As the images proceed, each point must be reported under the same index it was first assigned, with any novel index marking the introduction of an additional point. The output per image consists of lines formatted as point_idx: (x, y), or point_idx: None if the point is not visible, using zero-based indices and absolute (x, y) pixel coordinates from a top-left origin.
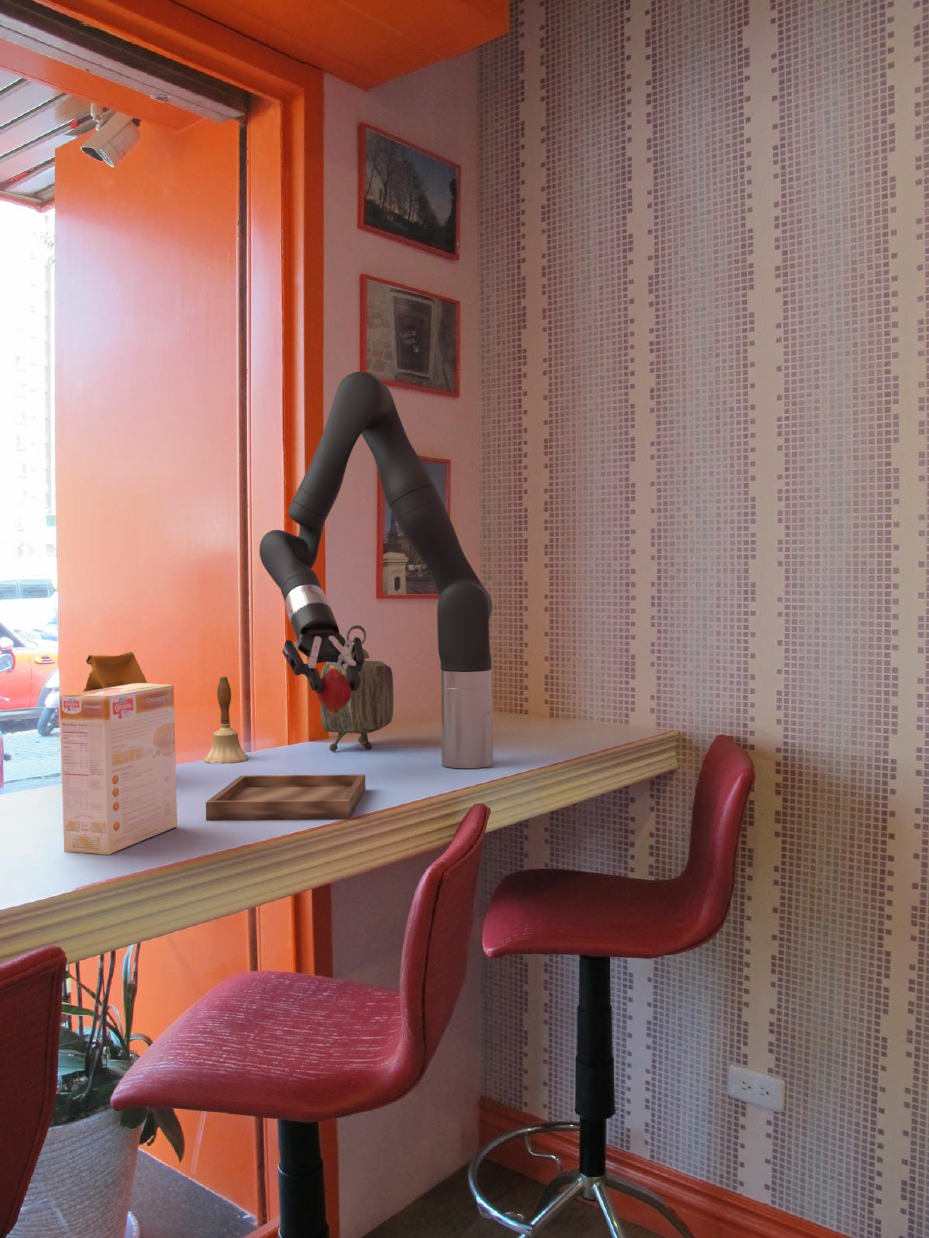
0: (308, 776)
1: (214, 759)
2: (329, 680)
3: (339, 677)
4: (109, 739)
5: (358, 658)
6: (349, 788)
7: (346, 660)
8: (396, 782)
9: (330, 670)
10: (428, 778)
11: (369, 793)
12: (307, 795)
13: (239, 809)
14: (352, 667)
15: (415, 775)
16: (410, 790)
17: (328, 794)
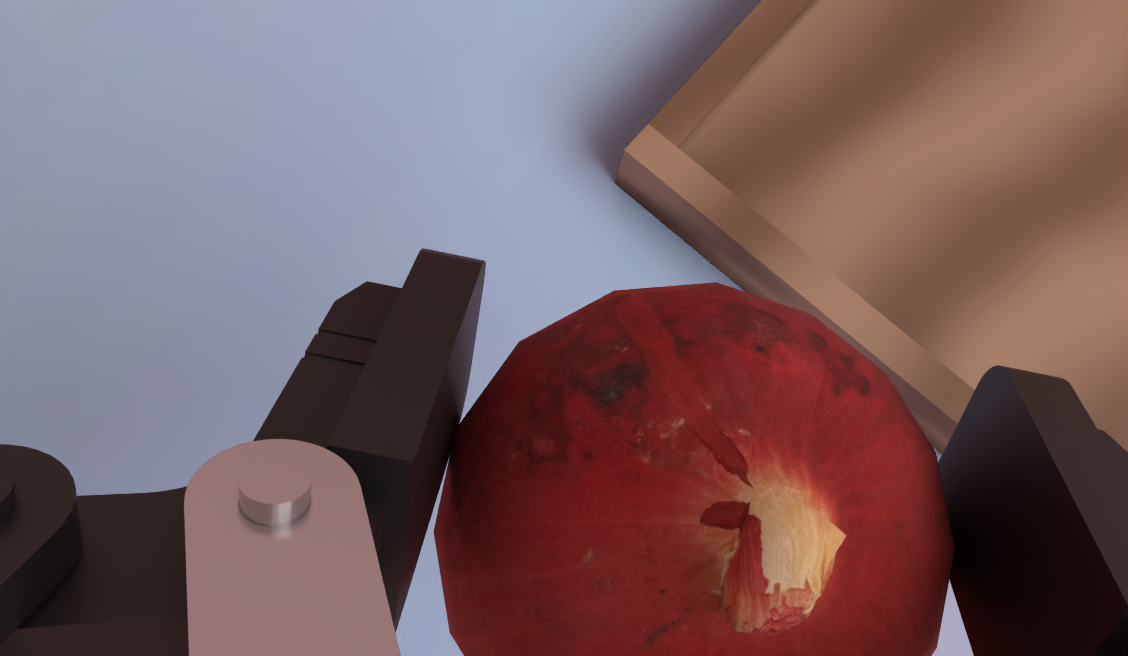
0: (911, 338)
1: None
2: (884, 386)
3: (729, 331)
4: None
5: (2, 558)
6: (738, 153)
7: (377, 592)
8: (358, 236)
9: (834, 521)
10: (146, 202)
11: (648, 101)
12: (997, 157)
13: None
14: (351, 431)
15: (131, 330)
16: (446, 18)
17: (901, 103)
